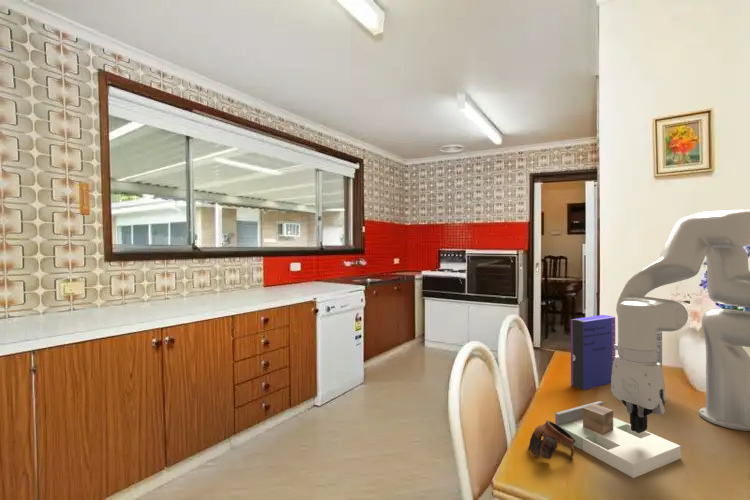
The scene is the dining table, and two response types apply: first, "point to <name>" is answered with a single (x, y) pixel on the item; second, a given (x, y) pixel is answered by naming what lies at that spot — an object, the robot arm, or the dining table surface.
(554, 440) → the brown curved piece
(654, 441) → the tray
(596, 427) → the block
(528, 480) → the dining table surface
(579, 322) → the blue rectangular box
